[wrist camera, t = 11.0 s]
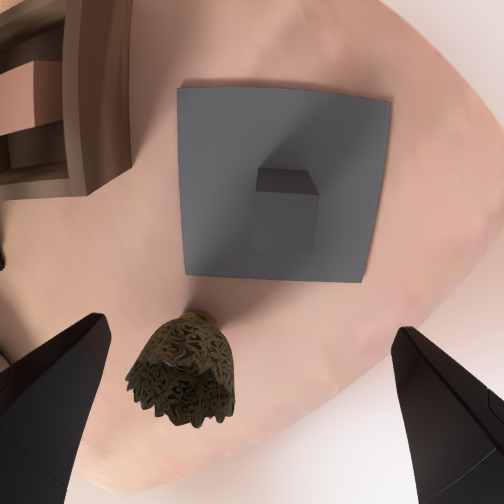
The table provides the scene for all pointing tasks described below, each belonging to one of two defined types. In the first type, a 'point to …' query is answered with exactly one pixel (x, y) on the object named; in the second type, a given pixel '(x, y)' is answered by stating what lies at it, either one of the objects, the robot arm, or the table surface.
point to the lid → (279, 182)
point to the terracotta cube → (31, 96)
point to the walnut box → (69, 97)
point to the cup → (185, 371)
